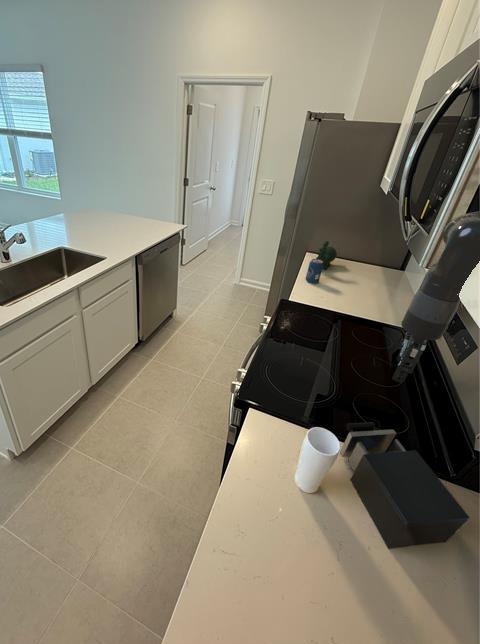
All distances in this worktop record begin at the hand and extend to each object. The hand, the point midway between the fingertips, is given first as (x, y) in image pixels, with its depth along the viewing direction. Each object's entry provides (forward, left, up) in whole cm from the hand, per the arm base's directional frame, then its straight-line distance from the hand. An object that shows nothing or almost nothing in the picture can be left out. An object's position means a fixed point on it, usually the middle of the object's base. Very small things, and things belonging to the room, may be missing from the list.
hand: (399, 370), depth 72 cm
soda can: (-27, -92, -22) cm, 99 cm away
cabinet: (+6, +19, -22) cm, 30 cm away
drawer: (+6, +10, -21) cm, 24 cm away
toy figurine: (-43, -113, -22) cm, 123 cm away
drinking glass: (+23, +12, -22) cm, 34 cm away
